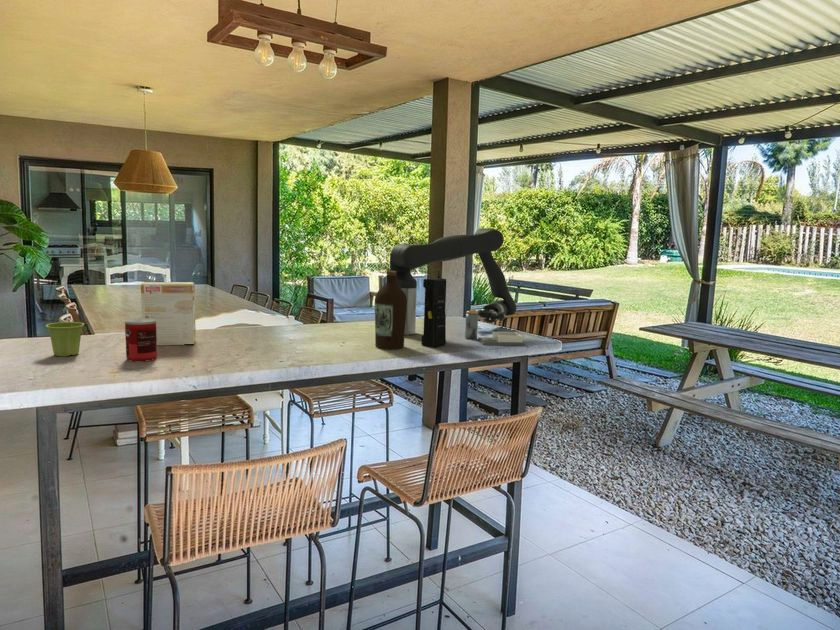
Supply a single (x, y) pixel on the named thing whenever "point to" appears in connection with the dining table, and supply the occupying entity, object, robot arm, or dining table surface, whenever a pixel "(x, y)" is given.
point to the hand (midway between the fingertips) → (481, 317)
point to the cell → (471, 325)
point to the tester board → (503, 339)
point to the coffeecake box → (170, 311)
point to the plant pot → (65, 337)
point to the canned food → (141, 339)
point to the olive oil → (390, 314)
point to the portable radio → (434, 312)
